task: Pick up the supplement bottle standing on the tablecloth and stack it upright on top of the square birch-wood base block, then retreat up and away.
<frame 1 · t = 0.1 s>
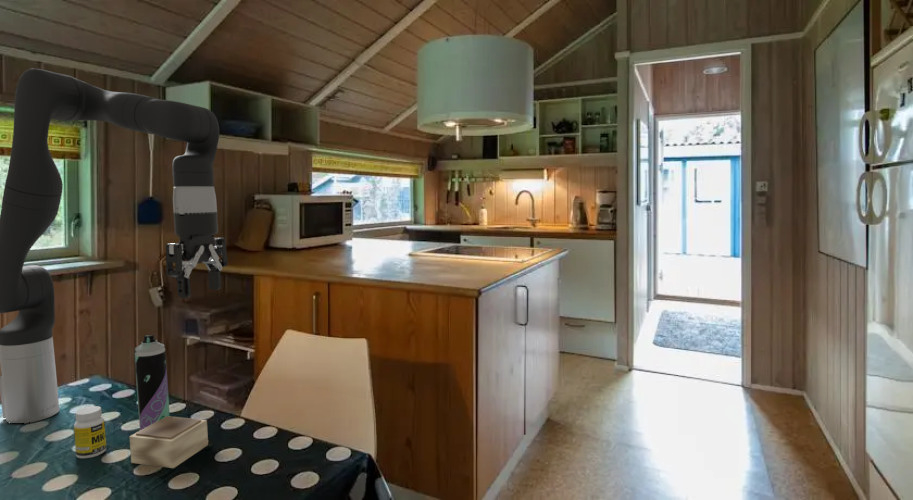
hand: (200, 293, 103), 29 cm above the table, tool pointing down, fingers open, 8 cm apart
base block: (171, 453, 99), on the table
supplement bottle: (91, 453, 100), on the table
spray can: (155, 430, 109), on the table
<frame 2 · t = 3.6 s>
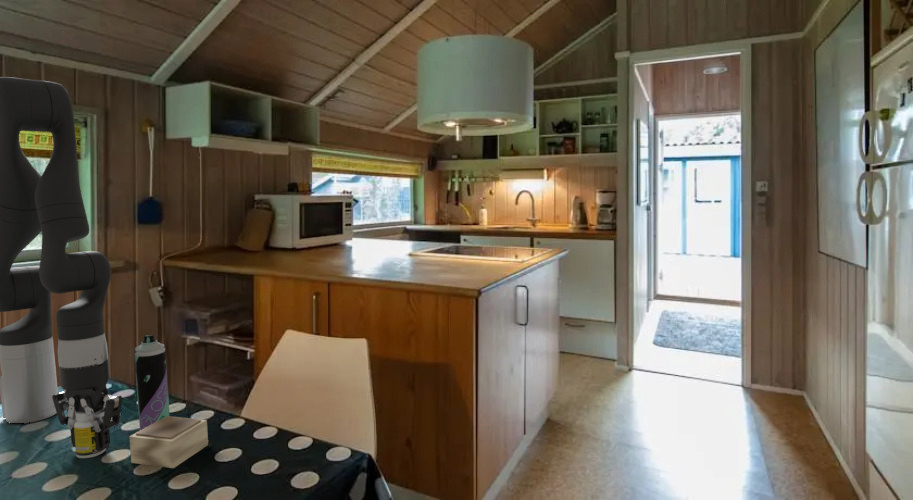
hand: (91, 446, 99), 1 cm above the table, tool pointing down, fingers closed on supplement bottle, 4 cm apart
supplement bottle: (91, 453, 100), on the table, touching gripper
everything else where it was.
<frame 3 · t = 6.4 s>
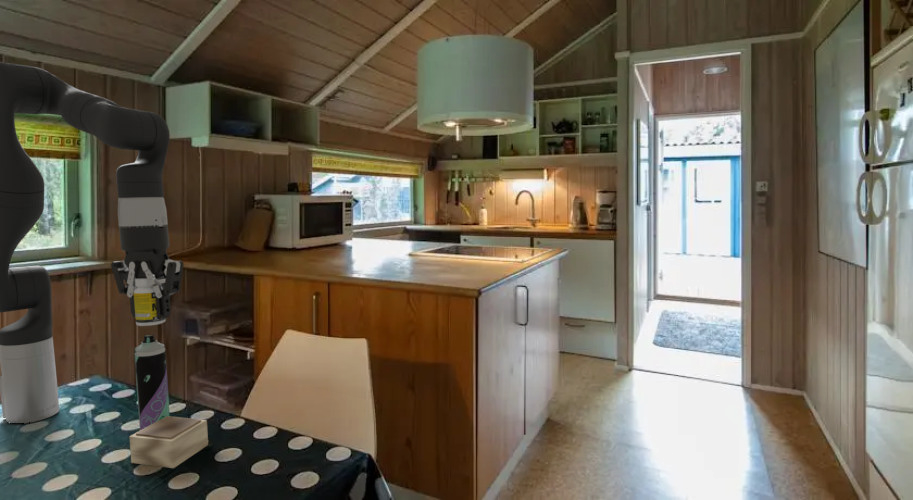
hand: (151, 316, 96), 26 cm above the table, tool pointing down, fingers closed on supplement bottle, 4 cm apart
supplement bottle: (151, 324, 96), point 25 cm above the table, touching gripper
everything else where it was.
when the fingers open (7 cm above the table, at t = 9.3 s): supplement bottle stays where it is, resting on base block.
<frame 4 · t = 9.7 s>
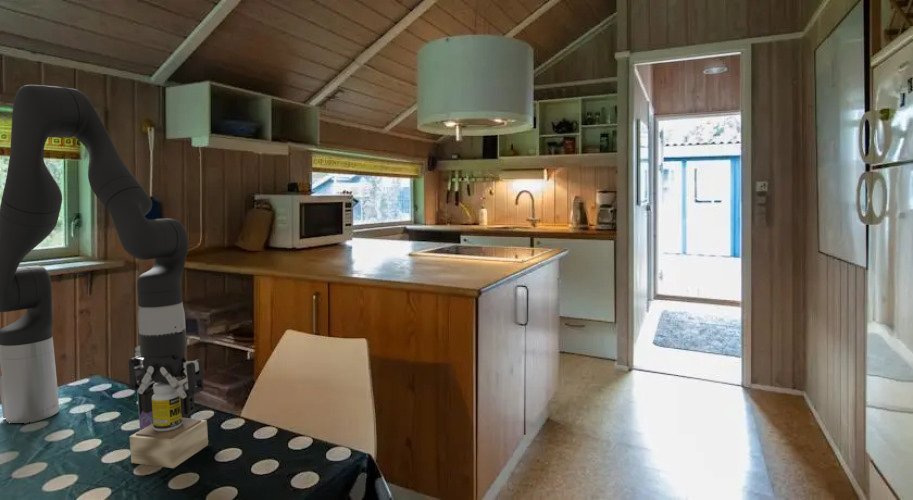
hand: (168, 413, 98), 8 cm above the table, tool pointing down, fingers open, 8 cm apart
supplement bottle: (168, 427, 98), point 5 cm above the table, touching base block
everything else where it was.
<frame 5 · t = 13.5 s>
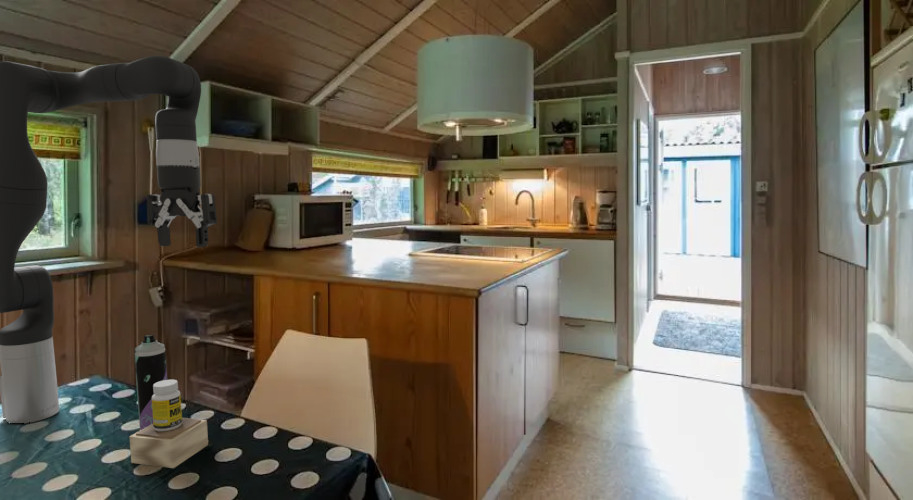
hand: (183, 246, 105), 38 cm above the table, tool pointing down, fingers open, 8 cm apart
nothing on the table moved.
at the end: supplement bottle inside the target area on the base block (0.2 cm from its centre), point 5.1 cm above the base block's base; supplement bottle tilted 0°; the gripper is holding nothing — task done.
